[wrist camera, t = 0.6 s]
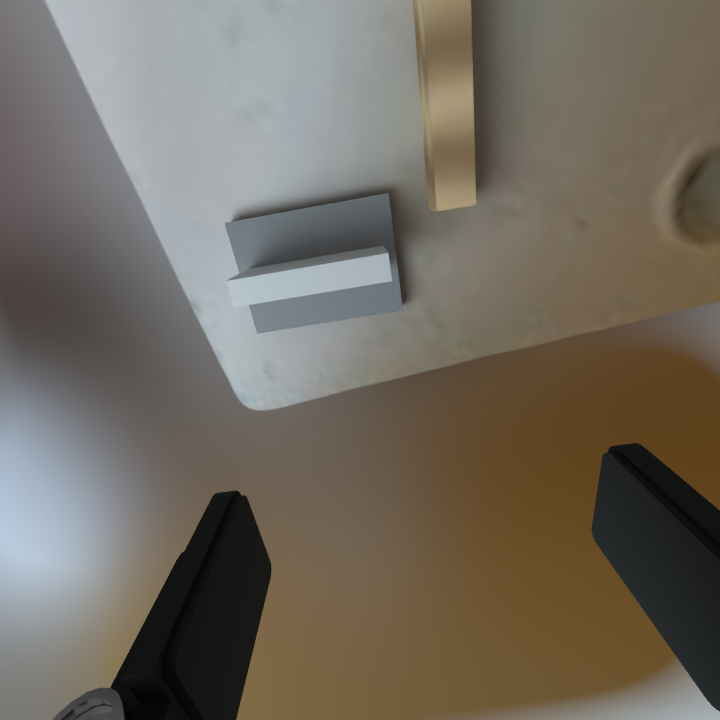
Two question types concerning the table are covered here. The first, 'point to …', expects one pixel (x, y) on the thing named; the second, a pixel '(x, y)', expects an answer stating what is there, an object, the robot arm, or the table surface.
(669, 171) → the table surface
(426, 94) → the rod
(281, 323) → the fulcrum
